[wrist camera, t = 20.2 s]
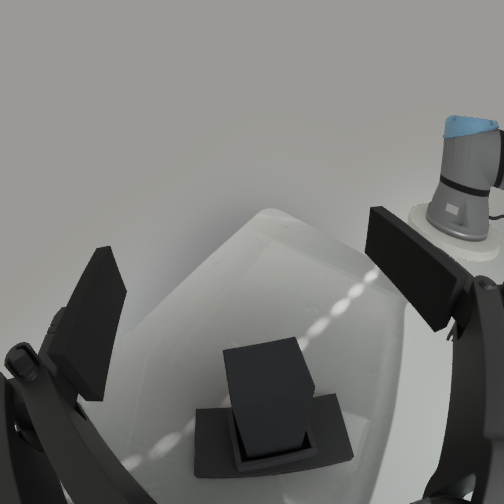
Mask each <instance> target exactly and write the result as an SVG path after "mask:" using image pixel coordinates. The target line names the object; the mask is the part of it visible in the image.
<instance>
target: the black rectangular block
mask: <svg viewBox="0 0 504 504" xmlns="http://www.w3.org/2000/svg"><path fill="white" fill-rule="evenodd" d="M223 355H224V362H225V369H226V376H227V382H228V388H229V395H230V401H231V406H232V409H233V412H234V416H235V419H236V422H237V425H238V428H239V432H240V435H241V438H242V441H243V444H244V447H245V450H246V453H247V456H248V459H249V460H253V459H259V458H264V457H269V456H274V455H279V454H283V453H288V452H292V451H296V450H300V449H301V446H302V442H303V438H304V434H305V430H306V426H307V422H308V418H309V413H310V409H311V405H312V400H313V395H314V390H315V385H314V382H313V380H312V377H311V375H310V372H309V370H308V367H307V365H306V362H305V360H304V357H303V355H302V352H301V350H300V347H299V345H298V343H297V340H296V338H295V337H291V338H286V339H281V340H277V341H272V342H266V343H261V344H256V345H250V346H244V347H239V348H232V349H226V350H223Z"/></svg>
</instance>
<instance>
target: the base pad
mask: <svg viewBox="0 0 504 504" xmlns="http://www.w3.org/2000/svg"><path fill="white" fill-rule="evenodd" d="M353 457H354V455H353V452H352V448H351V444H350V441H349V437H348V434H347V430H346V427H345V423H344V420H343V416H342V413H341V410H340V406H339V403H338V400H337V396H336V393H335V394H330V395H325V396H320V397H314V398H313V400H312V405H311V409H310V413H309V418H308V422H307V426H306V430H305V434H304V438H303V442H302V446H301V449H300V450H296V451H292V452H288V453H283V454H279V455H274V456H269V457H264V458H259V459H253V460H249V459H248V456H247V453H246V450H245V447H244V444H243V441H242V438H241V435H240V432H239V428H238V425H237V422H236V419H235V416H234V412H233V409H232V407H231V408H210V409H196V423H195V458H194V476H196V477H197V478H242V477H256V476H267V475H276V474H284V473H291V472H297V471H303V470H309V469H314V468H319V467H324V466H329V465H333V464H337V463H341V462H345V461H349V460H351V459H352V458H353Z"/></svg>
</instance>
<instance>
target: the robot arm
mask: <svg viewBox="0 0 504 504" xmlns="http://www.w3.org/2000/svg"><path fill="white" fill-rule="evenodd" d="M498 128H499V126H498V123H497V122H496V121H493V120H487V119H480V118H473V117H465V116H454V115H453V116H449V117H448V118H447V119H446V123H445V132H444V135H443V138H444V148H443V158H442V166H441V174H440V182H439V185H438V187H437V189H436V191H435V194H434V196H433V199H432V201H431V202H430V203H429V205H428V208H427V211H426V219H427V221H428V222H429V223H430V224H431V225H432V226H433V227H435V228H436V229H438V230H439V231H441V232H443V233H445V234H447V235H449V236H451V237H454V238H457V239H460V240H464V241H470V242H480V241H483V240H485V239H486V238H487V235H488V231H489V219H491V220H497V219H500V218H504V215H500V216H497V217H491V216H489V207H488V198H489V193H490V187H491V186H493V187H496V188H499V189H502V190H504V131H502V130H499V129H498ZM365 253H366V254H367V255H368V257H369V258H370V259H371V260H372V261H373V262H374V263H375V264H376V265H377V266H378V267H379V268H380V269H381V270H382V272H383V273H384V274H385V275H386V276H387V277H388V278H389V279H390V280H391V281H392V283H393V284H394V285H395V286H396V287H397V288H398V289H399V290H400V292H401V293H402V294H403V295H404V296H405V297H406V299H407V300H408V301H409V302H410V303H411V304H412V306H413V307H414V308H415V309H416V310H417V311H418V313H419V314H420V315H421V316H422V317H423V319H424V320H425V321H426V322H427V324H428V325H429V326H430V327H431V328H432V330H433V331H434V332H437V331H439V330H441V329H443V328H445V327H447V324H448V322H449V320H450V318H451V316H452V317H453V318H454V319H455V323H454V325H453V327H452V329H451V331H450V333H449V334H448V336H447V340H449V339H450V337H451V336H452V335H453V339H452V341H453V363H452V381H451V393H450V402H449V411H448V418H447V425H446V431H445V436H444V442H443V446H442V451H441V456H440V460H439V464H438V467H437V469H436V471H435V473H434V474H433V476H432V477H431V478H430V480H429V482H428V484H427V486H426V488H425V491H424V494H423V497H422V499H421V500H418V501H416V502H413V503H410V504H504V282H503V284H502V285H496V283H495V282H494V281H493V280H491V279H490V278H488V277H485V276H481V275H479V276H476V277H473V276H472V275H471V274H470V273H469V272H468V271H467V270H466V269H464V268H463V267H462V266H461V265H460V264H459V263H457V262H455V260H454V259H453V258H451V257H449V255H448V254H447V253H446V252H444V251H443V250H442V249H440V248H438V247H436V246H435V245H433V244H432V243H431V242H430V241H428V240H427V239H426V238H424V237H423V236H422V235H421V234H419V233H418V232H417V231H415V230H414V229H413V228H411V227H410V226H409V225H407V224H406V223H405V222H403V221H402V220H401V219H399V218H398V217H397V216H395V215H394V214H392V213H391V212H390V211H388V210H387V209H385V208H384V207H382V206H379V207H370V216H369V224H368V232H367V240H366V247H365ZM126 293H127V291H126V288H125V285H124V283H123V280H122V278H121V275H120V272H119V270H118V267H117V264H116V261H115V258H114V256H113V253H112V250H111V247H110V246H106V247H101V248H97V249H96V251H95V252H94V254H93V256H92V257H91V259H90V261H89V263H88V265H87V266H86V268H85V270H84V272H83V274H82V276H81V278H80V280H79V282H78V284H77V286H76V288H75V290H74V292H73V294H72V296H71V298H70V300H69V302H68V304H67V306H66V307H62V308H61V309H60V310H59V311H58V312H57V314H56V315H55V316H54V318H53V320H52V323H51V325H50V326H51V327H49V329H48V331H47V334H46V336H45V338H44V341H43V343H42V346H41V348H40V350H39V353H38V355H37V354H36V353H35V351H34V350H33V348H32V347H31V346H30V344H29V343H26V342H23V343H19V344H17V345H15V346H14V347H12V348H11V349H10V351H9V352H8V353H7V355H6V358H5V367H6V368H7V369H8V371H9V372H10V373H11V374H12V375H13V376H14V377H15V378H12V379H8V380H7V379H6V377H5V376H4V375H3V374H2V373H1V372H0V504H68V503H67V501H66V498H65V495H64V493H63V490H62V487H61V484H60V481H61V483H62V485H63V486H64V488H65V490H66V491H67V493H68V495H69V496H70V498H71V499H72V501H73V502H74V504H157V503H156V502H155V501H154V500H153V499H152V498H151V497H150V496H149V495H148V494H147V492H146V491H145V490H144V489H143V488H142V487H141V486H140V485H139V484H138V483H137V482H136V480H135V479H134V478H133V477H132V476H131V475H130V473H129V472H128V471H127V470H126V469H125V467H124V466H123V465H122V464H121V463H120V461H119V460H118V459H117V457H116V456H115V455H114V454H113V452H112V451H111V450H110V448H109V447H108V446H107V444H106V443H105V441H104V440H103V439H102V437H101V436H100V434H99V433H98V431H97V430H96V428H95V427H94V425H93V424H92V422H91V421H90V419H89V418H88V416H87V415H86V413H85V411H84V410H83V408H82V406H81V405H80V404H79V403H78V402H77V397H78V393H79V394H80V395H81V396H82V397H83V398H84V399H85V400H86V401H102V402H103V398H104V391H105V385H106V380H107V374H108V369H109V364H110V359H111V354H112V349H113V345H114V340H115V336H116V331H117V327H118V323H119V319H120V315H121V311H122V308H123V304H124V300H125V297H126ZM15 425H16V428H17V431H16V429H15ZM59 479H60V481H59ZM472 491H473V494H472V498H471V501H467V500H464V499H463V497H464V496H465V495H466V494H468V493H470V492H472Z"/></svg>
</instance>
